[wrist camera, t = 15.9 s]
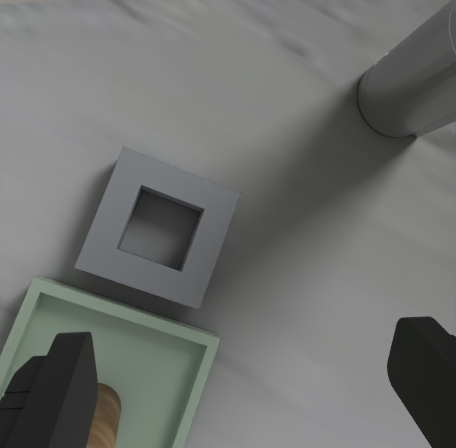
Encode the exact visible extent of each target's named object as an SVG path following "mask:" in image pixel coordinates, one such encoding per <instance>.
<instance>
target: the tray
mask: <svg viewBox="0 0 456 448" xmlns="http://www.w3.org/2000/svg"><path fill="white" fill-rule="evenodd" d="M68 332H91V334H92V339H93V347H94V354H95V362H96V370H97V378H98V383H102V384H105V385H108V386H110V387H111V388H113V389H114V390H115V391H116V393H117V394H118V396H119V398H120V401H121V415H120V421H119V427H118V432H117V438H116V444H115V448H184V445H185V442H186V439H187V436H188V433H189V430H190V427H191V424H192V421H193V418H194V415H195V413H196V410H197V407H198V404H199V401H200V398H201V395H202V392H203V389H204V386H205V383H206V380H207V378H208V375H209V372H210V369H211V366H212V363H213V360H214V357H215V354H216V351H217V348H218V345H219V343H220V340H221V339H220V338H219V336H218V335H217V334H215V333H212V332H209V331H206V330H203V329H200V328H197V327H194V326H191V325H188V324H185V323H182V322H179V321H176V320H173V319H170V318H167V317H164V316H161V315H158V314H155V313H152V312H149V311H146V310H143V309H140V308H137V307H134V306H131V305H128V304H124V303H121V302H118V301H115V300H112V299H109V298H106V297H103V296H100V295H97V294H94V293H91V292H88V291H85V290H82V289H79V288H76V287H73V286H70V285H67V284H64V283H61V282H58V281H55V280H52V279H49V278H46V277H43V276H38V277H34V278H33V279H32V282H31V284H30V287H29V289H28V291H27V294H26V296H25V298H24V301H23V303H22V306H21V308H20V310H19V313H18V315H17V317H16V320H15V322H14V325H13V327H12V329H11V332H10V334H9V337H8V339H7V341H6V344H5V346H4V348H3V351H2V353H1V356H0V400H1V398H2V396H4V392H5V390H6V388H7V387H8V385H9V383H10V381H11V379H12V377H13V375H14V373H15V372H16V371H17V370H18V369H19V368H21V367H22V366H23V365H24V364H25V363H26V362H27V361H28V360H29V359H30V358H31V357H32V356H46V355H47V354H48V351H49V349H50V347H51V345H52V342H53V340H54V338H55V336H56V335H57V334H58V333H68Z"/></svg>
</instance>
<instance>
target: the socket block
mask: <svg viewBox="0 0 456 448" xmlns="http://www.w3.org/2000/svg"><path fill="white" fill-rule="evenodd" d="M142 190H144V191H146V192H149V193H152V194H154V195H157V196H160V197H162V198H165V199H167V200H170V201H173V202H175V203H178V204H181V205H183V206H186V207H188V208H191V209H194V210H196V211H199V212H201V213H200V216H199V218H198V221H197V224H196V227H195V229H194V232H193V235H192V237H191V240H190V243H189V246H188V248H187V251H186V254H185V257H184V259H183V262H182V265H181V267H180V270H176V269H173V268H171V267H168V266H165V265H162V264H159V263H156V262H154V261H151V260H148V259H145V258H142V257H139V256H137V255H134V254H131V253H128V252H125V251H122V250H119V247H120V244H121V242H122V239H123V237H124V234H125V231H126V229H127V226H128V224H129V221H130V219H131V216H132V214H133V211H134V209H135V206H136V203H137V201H138V198H139V196H140V193H141V191H142ZM240 194H241V193H240V192H238V191H235V190H233V189H230V188H227V187H225V186H222V185H220V184H217V183H215V182H212V181H210V180H207V179H205V178H202V177H200V176H197V175H195V174H192V173H190V172H187V171H185V170H182V169H180V168H177V167H175V166H172V165H170V164H167V163H164V162H162V161H159V160H157V159H154V158H152V157H149V156H147V155H144V154H142V153H139V152H137V151H134V150H132V149H129V148H127V147H124V146H123V149H122V151H121V154H120V156H119V158H118V161H117V163H116V166H115V168H114V171H113V173H112V176H111V178H110V181H109V183H108V186H107V188H106V190H105V193H104V195H103V198H102V200H101V203H100V205H99V208H98V210H97V213H96V215H95V218H94V220H93V222H92V225H91V227H90V230H89V232H88V235H87V237H86V240H85V242H84V245H83V247H82V250H81V252H80V254H79V257H78V259H77V262H76V264H75V267H74V268H77V269H80V270H83V271H86V272H88V273H91V274H94V275H97V276H100V277H103V278H106V279H109V280H112V281H115V282H118V283H121V284H124V285H127V286H130V287H133V288H136V289H139V290H142V291H145V292H148V293H151V294H154V295H157V296H160V297H162V298H165V299H168V300H171V301H174V302H177V303H180V304H183V305H186V306H189V307H192V308H195V309H198V310H199V309H200V307H201V304H202V301H203V298H204V295H205V293H206V290H207V287H208V284H209V281H210V278H211V276H212V273H213V270H214V267H215V264H216V262H217V259H218V256H219V253H220V250H221V247H222V245H223V242H224V239H225V236H226V233H227V230H228V228H229V225H230V222H231V219H232V216H233V214H234V211H235V208H236V205H237V202H238V199H239V197H240Z"/></svg>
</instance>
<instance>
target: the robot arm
mask: <svg viewBox="0 0 456 448" xmlns="http://www.w3.org/2000/svg"><path fill="white" fill-rule="evenodd" d="M358 102H359V107H360V110H361V112H362V115H363V116H364V118H365V120H366V121H367V123H368V124H369V125H370V126H371V127H372V128H373V129H375V130H376V131H378V132H379V133H381V134H383V135H386V136H389V137H404V136H407V135H414V136H416V137H420V136H422V135H425V134H427V133H429V132H432V131H434V130H436V129H438V128H441V127H443V126H445V125H448V124H450V123H452V122H455V121H456V0H451V1H449V2H448V3H447V4H446V5H445V6H443V7H442V8H441V9H440V10H439V11H437V12H436V13H435V14H434V15H433V16H431V17H430V18H429V19H428V20H427V21H425V22H424V23H423V24H422V25H421V26H420V27H418V28H417V29H416V30H415V31H414V32H412V33H411V34H410V35H409V36H408V37H406V38H405V39H404V40H403V41H402V42H400V43H399V44H398V45H397V46H396V47H394V48H393V49H392V50H391V51H390V52H389V53H387V54H386V55H385V56H384V57H383V58H381V59H380V60H378V61H377V62H376V63H375V64H374V65H373V66H372V67H371V68H370V69H368V70H367V71H366V73H365V74H364V75H363V77H362V79H361V81H360V84H359V88H358ZM387 371H388V377H389V380H390V383H391V385H392V387H393V389H394V390H395V392H396V393H397V395H398V396H399V398H400V399H401V401H402V402H403V404H404V405H405V407H406V409H407V410H408V412H409V413H410V415H411V416H412V418H413V419H414V421H415V422H416V424H417V425H418V427H419V428H420V430H421V431H422V433H423V435H424V436H425V438H426V439H427V441H428V442H429V444H430V445H431V447H432V448H456V337H455V336H454V335H450V334H449V333H448V332H447V331H446V330H445V329H444V328H443V327H442V326H441V325H440V324H439V323H438V322H437V321H436V320H435V319H434V318H432V317H406V318H401V319H399V320H398V322H397V325H396V329H395V333H394V337H393V341H392V346H391V350H390V354H389V358H388V363H387ZM97 395H98V378H97V370H96V362H95V354H94V347H93V339H92V334H91V332H68V333H58V334H57V335H56V336H55V338H54V340H53V342H52V345H51V347H50V349H49V351H48V354H47V355H46V356H32V357H31V358H30V359H29V360H28V361H27V362H26V363H25V364H24V365H23V366H22V367H21V368H19V369H18V370H17V371H16V372H15V373H14V375H13V377H12V379H11V381H10V383H9V385H8V387H7V388H6V390H5V392H4V396H2V398H1V400H0V448H86V446H87V441H88V437H89V433H90V429H91V425H92V421H93V417H94V412H95V408H96V403H97Z"/></svg>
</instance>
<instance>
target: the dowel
mask: <svg viewBox="0 0 456 448" xmlns="http://www.w3.org/2000/svg"><path fill="white" fill-rule="evenodd" d="M120 415H121V401H120V398H119V396H118V394H117V393H116V391H115V390H114V389H113V388H111V387H110V386H108V385H105V384H102V383H98V395H97V403H96V408H95V412H94V417H93V421H92V425H91V429H90V433H89V437H88V441H87V446H86V448H115V444H116V438H117V432H118V427H119V421H120Z"/></svg>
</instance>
